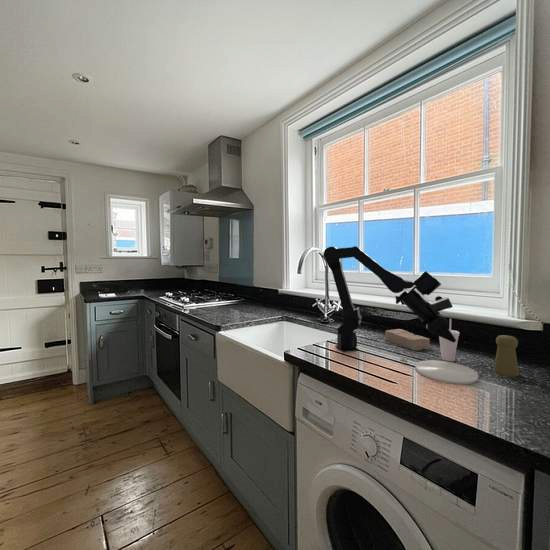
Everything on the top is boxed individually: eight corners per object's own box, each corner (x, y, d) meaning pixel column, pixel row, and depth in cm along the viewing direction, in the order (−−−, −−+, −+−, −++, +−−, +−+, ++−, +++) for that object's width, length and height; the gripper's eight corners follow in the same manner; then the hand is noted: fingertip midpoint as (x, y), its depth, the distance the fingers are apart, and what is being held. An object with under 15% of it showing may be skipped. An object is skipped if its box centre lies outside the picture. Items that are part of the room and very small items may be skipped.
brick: (431, 349, 112) (431, 337, 112) (413, 351, 109) (413, 338, 109) (400, 339, 128) (400, 328, 127) (384, 340, 125) (384, 329, 125)
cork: (488, 369, 90) (489, 333, 90) (506, 368, 91) (507, 333, 90) (505, 376, 84) (506, 338, 84) (524, 376, 85) (525, 338, 84)
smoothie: (451, 363, 95) (452, 320, 94) (432, 358, 100) (433, 317, 100) (463, 360, 98) (464, 319, 97) (444, 355, 103) (445, 316, 103)
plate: (445, 386, 77) (445, 382, 77) (403, 366, 92) (403, 362, 92) (492, 380, 81) (492, 376, 81) (445, 362, 96) (445, 358, 96)
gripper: (440, 291, 91) (481, 329, 87) (432, 286, 108) (466, 318, 105) (411, 314, 94) (450, 352, 91) (408, 306, 112) (441, 338, 108)
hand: (453, 339), depth 98 cm, fingers closed on smoothie, 6 cm apart
